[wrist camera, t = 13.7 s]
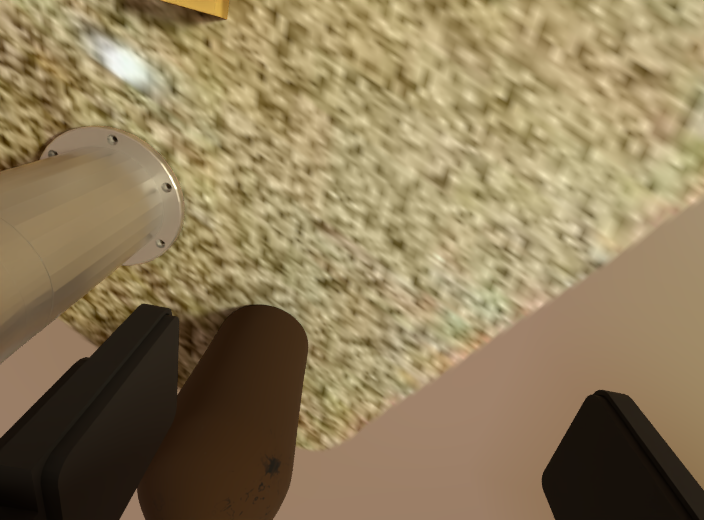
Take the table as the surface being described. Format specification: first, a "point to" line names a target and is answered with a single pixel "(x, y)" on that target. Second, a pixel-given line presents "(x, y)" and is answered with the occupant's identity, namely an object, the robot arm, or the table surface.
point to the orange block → (204, 6)
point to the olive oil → (233, 425)
